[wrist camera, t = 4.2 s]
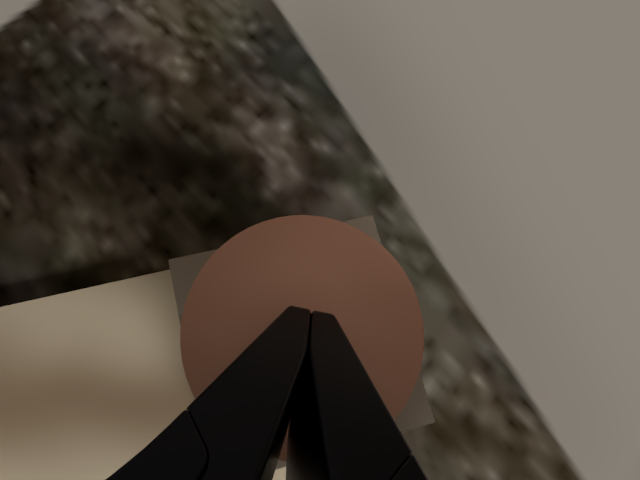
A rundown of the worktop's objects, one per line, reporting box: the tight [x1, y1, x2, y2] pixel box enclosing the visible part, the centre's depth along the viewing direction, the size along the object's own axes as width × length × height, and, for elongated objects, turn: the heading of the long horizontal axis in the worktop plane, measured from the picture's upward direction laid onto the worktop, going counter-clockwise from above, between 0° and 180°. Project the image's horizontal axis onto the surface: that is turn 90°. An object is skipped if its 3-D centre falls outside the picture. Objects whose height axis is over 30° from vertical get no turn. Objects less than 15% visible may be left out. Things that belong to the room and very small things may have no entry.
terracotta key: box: [180, 215, 424, 462], centre depth 11 cm, size 5×5×3 cm
